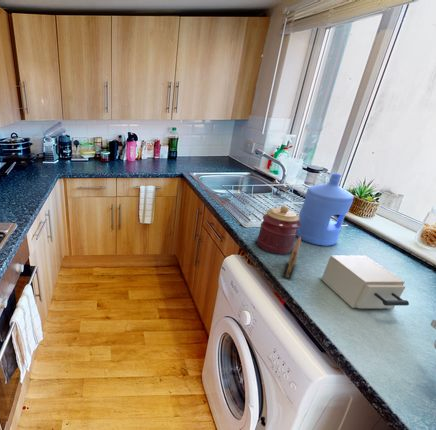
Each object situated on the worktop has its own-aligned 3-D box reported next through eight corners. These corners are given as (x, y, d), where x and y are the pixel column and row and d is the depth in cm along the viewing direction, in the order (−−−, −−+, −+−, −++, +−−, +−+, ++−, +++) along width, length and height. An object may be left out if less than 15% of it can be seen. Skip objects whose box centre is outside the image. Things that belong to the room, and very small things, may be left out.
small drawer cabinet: (390, 307, 85) (405, 281, 81) (352, 307, 84) (365, 281, 80) (354, 279, 97) (365, 255, 93) (321, 279, 97) (330, 255, 93)
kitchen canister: (298, 248, 115) (311, 208, 107) (281, 258, 108) (294, 216, 100) (266, 235, 124) (277, 197, 117) (249, 243, 118) (259, 204, 110)
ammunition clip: (288, 263, 105) (297, 234, 100) (294, 264, 104) (303, 236, 99) (283, 277, 97) (293, 246, 92) (289, 279, 96) (300, 248, 91)
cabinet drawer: (407, 319, 79) (420, 297, 76) (371, 319, 79) (383, 297, 76) (359, 281, 94) (368, 261, 91) (328, 281, 94) (336, 261, 91)
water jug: (291, 239, 122) (312, 175, 110) (295, 225, 134) (314, 167, 122) (336, 250, 114) (363, 183, 102) (336, 235, 126) (360, 173, 114)
